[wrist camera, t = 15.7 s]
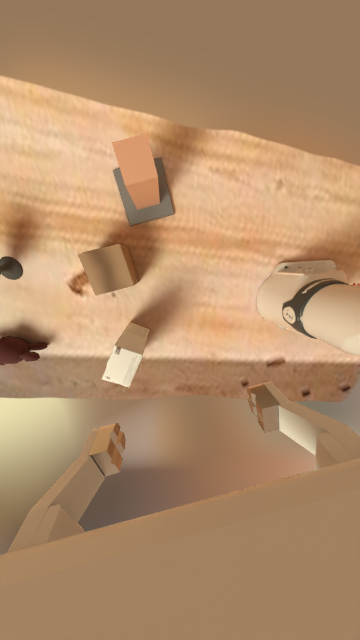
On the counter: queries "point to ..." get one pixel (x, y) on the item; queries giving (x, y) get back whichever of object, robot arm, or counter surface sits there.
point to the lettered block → (109, 268)
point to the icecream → (18, 350)
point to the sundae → (10, 268)
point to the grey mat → (152, 211)
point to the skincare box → (126, 355)
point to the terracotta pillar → (138, 170)
